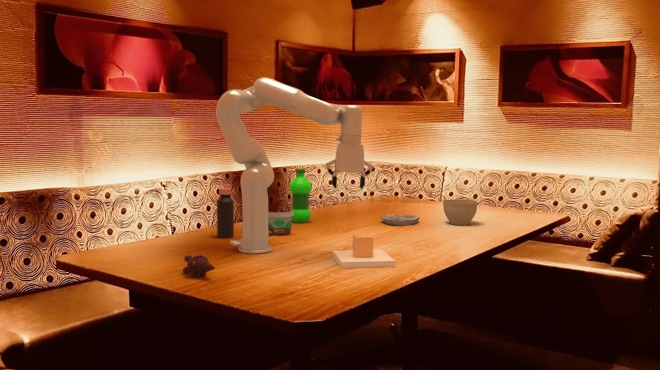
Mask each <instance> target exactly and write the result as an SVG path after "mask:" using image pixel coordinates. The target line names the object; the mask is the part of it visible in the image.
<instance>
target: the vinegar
mask: <svg viewBox="0 0 660 370" xmlns="http://www.w3.org/2000/svg"><path fill="white" fill-rule="evenodd" d="M218 194H219V198H218V199H217V200H216V236H217V238H219V239H232V238H234V236H235V228H234V227H235V221H234V220H235V219H234V218H235V215H234V214H235V211H234V210H235V209H234V208H235V207H234V206H235V205H234V204H235V201H234V200H233V198H231V196H232V188H229V187H228V188H227V187H226V188H225V187H223V188H222V187H221V188H218ZM231 237H232V238H231Z"/></svg>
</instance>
